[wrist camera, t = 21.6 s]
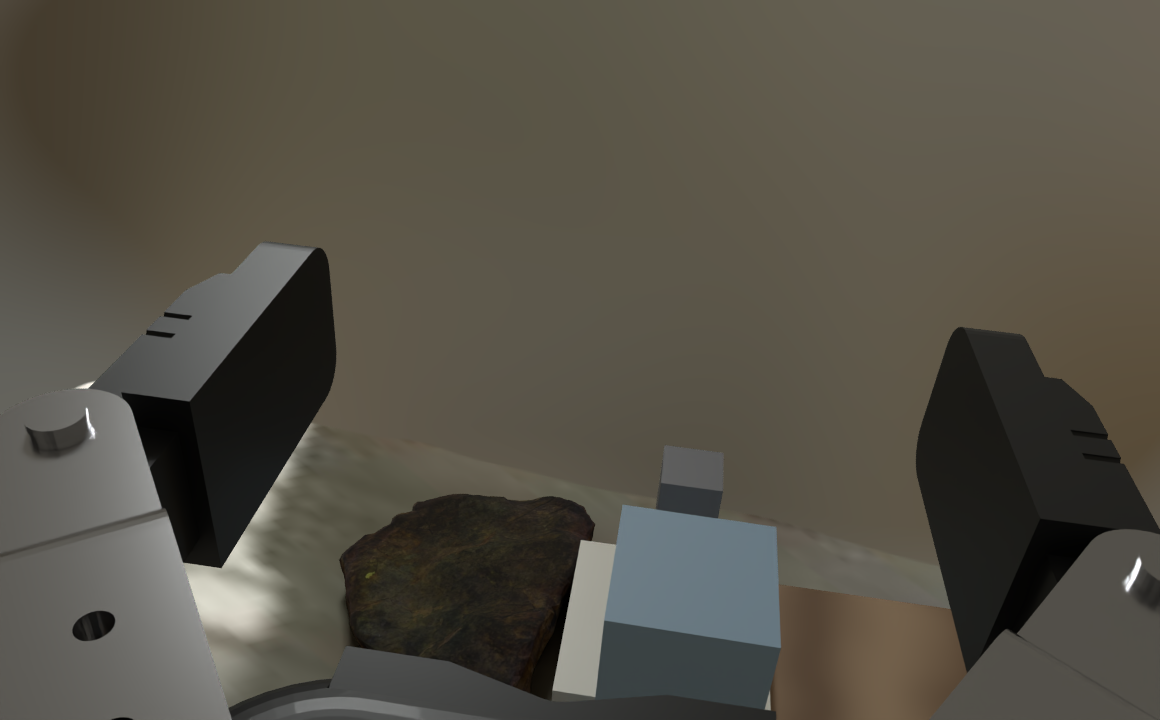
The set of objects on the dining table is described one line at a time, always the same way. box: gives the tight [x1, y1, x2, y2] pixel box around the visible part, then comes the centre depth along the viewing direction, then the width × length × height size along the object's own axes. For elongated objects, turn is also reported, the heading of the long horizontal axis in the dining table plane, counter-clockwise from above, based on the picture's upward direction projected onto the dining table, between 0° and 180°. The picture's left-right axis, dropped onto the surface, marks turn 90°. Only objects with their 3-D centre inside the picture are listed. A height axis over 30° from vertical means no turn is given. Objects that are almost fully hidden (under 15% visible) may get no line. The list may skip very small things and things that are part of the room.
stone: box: [339, 494, 595, 694], centre depth 46 cm, size 18×11×3 cm, turn 163°
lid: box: [552, 445, 771, 710], centre depth 41 cm, size 9×9×10 cm
